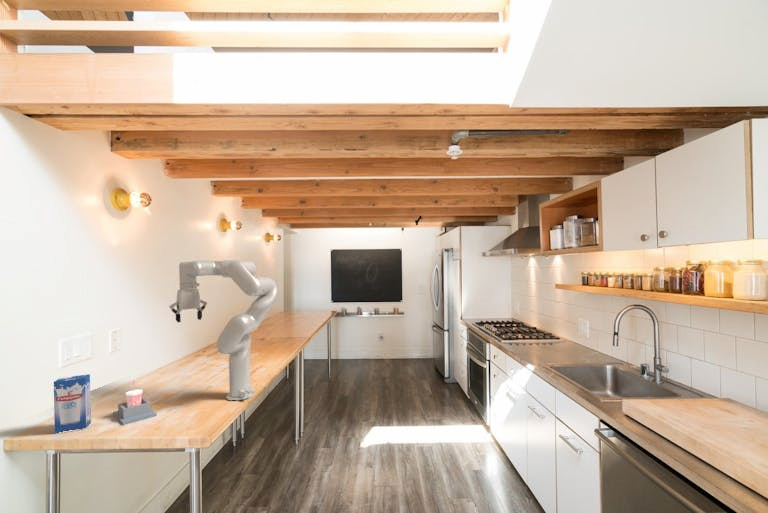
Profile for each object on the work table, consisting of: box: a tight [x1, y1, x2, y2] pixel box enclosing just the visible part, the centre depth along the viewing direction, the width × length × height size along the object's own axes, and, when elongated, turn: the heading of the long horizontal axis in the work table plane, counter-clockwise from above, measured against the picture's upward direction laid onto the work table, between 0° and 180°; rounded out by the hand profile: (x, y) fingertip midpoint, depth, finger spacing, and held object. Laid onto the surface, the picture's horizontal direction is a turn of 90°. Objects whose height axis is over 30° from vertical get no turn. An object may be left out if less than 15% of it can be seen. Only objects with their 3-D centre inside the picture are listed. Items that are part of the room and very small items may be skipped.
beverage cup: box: [125, 379, 143, 407], centre depth 162 cm, size 6×6×14 cm
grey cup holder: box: [112, 397, 157, 426], centre depth 162 cm, size 18×12×5 cm, turn 46°
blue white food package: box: [53, 374, 92, 434], centre depth 150 cm, size 10×6×20 cm, turn 114°
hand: (189, 320), depth 187 cm, fingers open, 9 cm apart
